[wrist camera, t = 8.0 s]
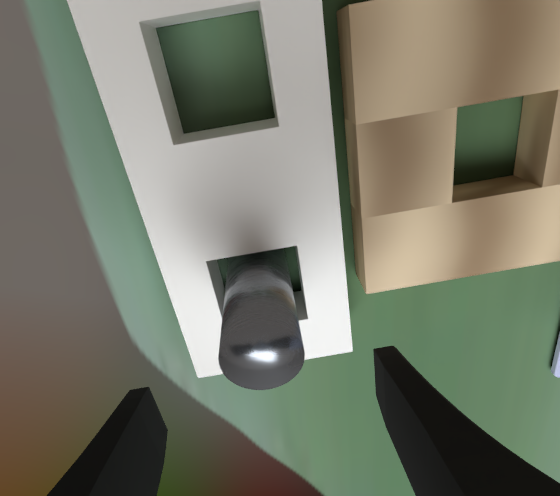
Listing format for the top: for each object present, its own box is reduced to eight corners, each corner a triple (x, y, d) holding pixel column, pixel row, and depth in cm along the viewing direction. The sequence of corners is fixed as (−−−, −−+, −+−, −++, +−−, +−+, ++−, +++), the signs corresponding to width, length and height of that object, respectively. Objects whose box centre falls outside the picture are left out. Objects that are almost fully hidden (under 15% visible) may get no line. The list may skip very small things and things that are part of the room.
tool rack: (301, -83, 13) (311, -112, 11) (341, 321, 21) (352, 351, 19) (78, -44, 13) (44, -65, 11) (203, 345, 21) (198, 377, 19)
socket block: (640, -42, 15) (695, -57, 13) (578, 234, 20) (610, 251, 18) (336, 11, 15) (348, 4, 13) (355, 273, 20) (366, 294, 18)
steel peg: (283, 232, 19) (301, 318, 12) (289, 283, 20) (307, 384, 14) (223, 239, 19) (211, 329, 12) (232, 290, 20) (225, 394, 14)
